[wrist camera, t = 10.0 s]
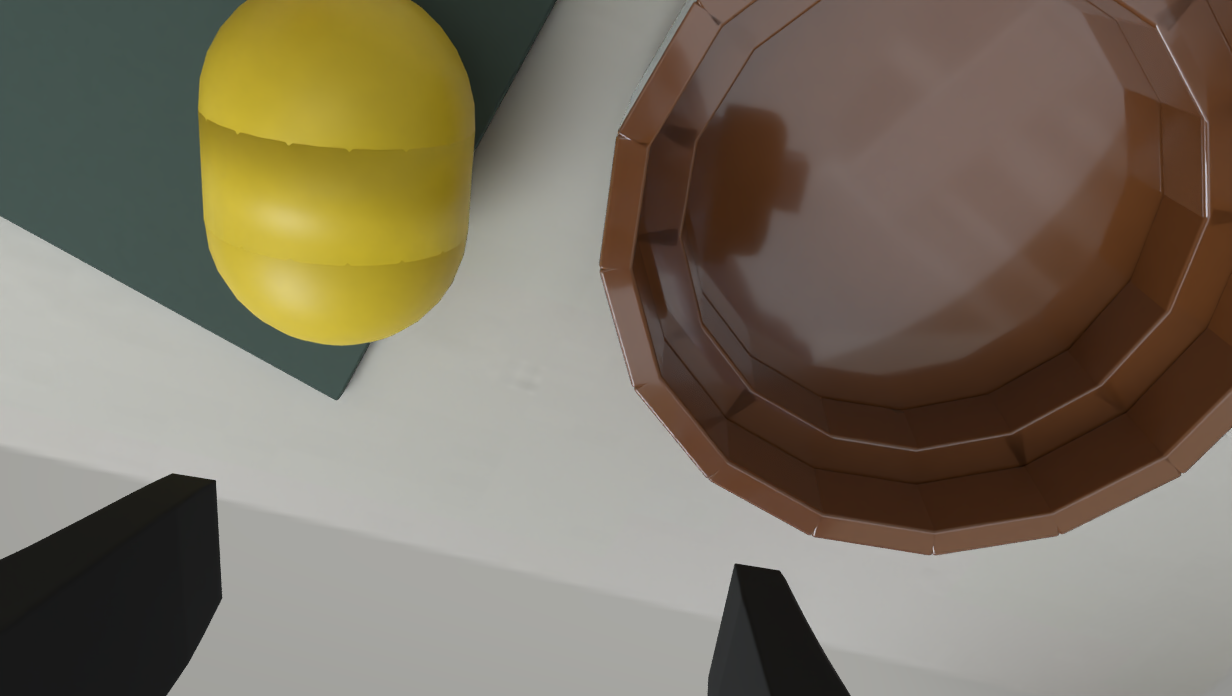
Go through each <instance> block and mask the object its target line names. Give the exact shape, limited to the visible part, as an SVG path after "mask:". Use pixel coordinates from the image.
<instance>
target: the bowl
mask: <svg viewBox="0 0 1232 696" xmlns="http://www.w3.org/2000/svg"><path fill="white" fill-rule="evenodd" d="M599 266H600V276H601V279H602V283H603V286H604V290H605V293H606V297H607V300H608V304H609V307H610V311H611V314H612V318H613V321H614V325H615V328H616V332H617V336H618V339H619V343H620V346H621V350H622V353H623V357H624V360H625V364H626V367H627V371H628V374H629V378H630V381H631V384H632V386H633V387H634V390H635V391H636V393H637V394H638V395H639V396H640V398H641V399H642V400H643V401H644V402H645V404H646V405H647V406H648V407H649V409H650V410H651V411H652V412H653V413H654V415H655V416H656V417H657V418H658V420H659V421H660V422H661V423H662V424H663V426H664V427H665V428H666V429H667V431H668V432H669V433H670V434H671V435H672V437H673V438H674V439H675V440H676V442H677V443H678V444H679V445H680V446H681V448H682V449H683V450H684V451H685V453H686V454H687V455H688V456H689V457H690V459H691V460H692V461H693V462H694V464H695V465H696V466H697V467H698V468H699V470H700V471H701V472H702V473H703V475H704V476H705V477H706V478H708V479H709V480H710V481H711V482H713V483H715V484H717V485H718V486H720V487H722V488H724V489H726V490H728V491H729V492H731V493H733V494H735V495H737V496H738V497H740V498H742V499H744V500H746V501H748V502H749V503H751V504H753V505H755V506H757V507H758V508H760V509H762V510H764V511H766V512H768V513H769V514H771V515H773V516H775V517H777V518H778V519H780V520H782V521H784V522H786V523H788V524H789V525H791V526H793V527H795V528H797V529H798V530H800V531H802V532H804V533H806V534H808V535H811V534H812V536H814V537H818V538H824V539H830V540H836V541H843V542H849V543H855V544H861V545H868V546H874V547H880V548H887V549H893V550H899V551H905V552H912V553H918V554H924V555H931V554H933V555H941V554H947V553H953V552H960V551H966V550H972V549H979V548H985V547H991V546H998V545H1004V544H1010V543H1017V542H1023V541H1029V540H1036V539H1042V538H1048V537H1054V536H1058V535H1059V533H1060V534H1065V533H1067V532H1069V531H1071V530H1073V529H1075V528H1077V527H1079V526H1081V525H1083V524H1085V523H1087V522H1089V521H1091V520H1093V519H1095V518H1097V517H1099V516H1101V515H1103V514H1105V513H1107V512H1109V511H1111V510H1113V509H1115V508H1117V507H1119V506H1121V505H1123V504H1125V503H1127V502H1129V501H1131V500H1133V499H1135V498H1137V497H1139V496H1141V495H1143V494H1145V493H1147V492H1149V491H1152V490H1154V489H1156V488H1158V487H1160V486H1162V485H1164V484H1166V483H1168V482H1170V481H1172V480H1174V479H1176V478H1178V477H1180V476H1181V473H1185V472H1187V471H1188V470H1189V469H1190V468H1191V467H1192V466H1193V465H1194V464H1195V463H1196V462H1197V461H1198V460H1199V459H1200V458H1201V457H1202V456H1203V455H1204V454H1205V453H1206V452H1207V451H1208V450H1209V449H1210V448H1211V447H1212V446H1213V445H1214V444H1215V443H1216V442H1217V441H1218V440H1219V439H1220V438H1222V437H1223V436H1224V435H1225V434H1226V433H1227V432H1228V431H1229V430H1230V429H1231V428H1232V0H687V1H686V3H685V5H684V7H683V8H682V10H681V12H680V13H679V15H678V17H677V19H676V20H675V22H674V24H673V25H672V27H671V29H670V31H669V32H668V34H667V36H666V38H665V39H664V41H663V43H662V44H661V46H660V48H659V50H658V51H657V53H656V55H655V57H654V58H653V60H652V62H651V63H650V65H649V67H648V69H647V70H646V72H645V74H644V76H643V77H642V79H641V81H640V82H639V84H638V86H637V88H636V89H635V91H634V93H633V95H632V96H631V99H630V102H629V104H628V107H627V109H626V112H625V114H624V117H623V119H622V122H621V124H620V127H619V130H618V134H617V136H616V142H615V150H614V157H613V164H612V172H611V179H610V187H609V194H608V202H607V209H606V217H605V224H604V231H603V239H602V246H601V254H600V261H599Z"/></svg>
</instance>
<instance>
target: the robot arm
mask: <svg viewBox="0 0 1232 696" xmlns="http://www.w3.org/2000/svg"><path fill="white" fill-rule="evenodd" d="M221 599H222V587H221V569H220V550H219V531H218V513H217V494H216V480H210V479H204V478H198V477H192V476H185V475H179V474H170V475H168V476H166V477H164V478H161V479H159V480H157V481H155V482H153V483H151V484H149V485H147V486H145V487H143V488H141V489H139V490H137V491H135V492H133V493H131V494H129V495H127V496H125V497H123V498H121V499H120V500H118V501H116V502H114V503H112V504H110V505H108V506H106V507H104V508H103V509H100V510H98V511H97V512H95V513H93V514H91V515H89V516H87V517H85V518H83V519H81V520H79V521H77V522H75V523H73V524H71V525H69V526H68V527H66V528H64V529H62V530H60V531H58V532H56V533H54V534H52V535H50V536H48V537H46V538H44V539H42V540H40V541H38V542H37V543H34V544H33V545H30V546H28V547H26V548H24V549H22V550H20V551H18V552H16V553H14V554H12V555H9V556H7V557H5V558H3V559H1V560H0V696H166V695H167V694H168V692H169V691H170V689H171V688H172V687H173V685H174V684H175V682H176V681H177V679H178V678H179V676H180V675H181V673H182V672H183V670H184V669H185V667H186V666H187V665H188V663H189V661H190V659H191V657H192V656H193V654H194V652H195V650H196V648H197V646H198V645H199V643H200V641H201V639H202V637H203V635H204V633H205V631H206V629H207V627H208V625H209V623H210V621H211V619H212V617H213V615H214V613H215V611H216V609H217V607H218V605H219V603H220V601H221ZM708 696H850V694H849V692H848V691H847V689H846V687H845V686H844V684H843V682H842V681H841V679H840V678H839V676H838V674H837V673H836V671H835V669H834V668H833V666H832V665H831V663H830V661H829V660H828V658H827V656H826V654H825V653H824V651H823V649H822V647H821V646H820V644H819V642H818V640H817V639H816V637H815V635H814V633H813V631H812V629H811V628H810V626H809V624H808V622H807V620H806V618H805V617H804V615H803V613H802V611H801V609H800V607H799V605H798V603H797V601H796V599H795V597H794V595H793V593H792V591H791V589H790V587H789V585H788V583H787V581H786V579H785V578H784V576H783V575H782V574H781V572H780V571H779V570H773V569H766V568H760V567H754V566H748V565H741V564H735V565H734V569H733V574H732V578H731V582H730V587H729V591H728V595H727V599H726V604H725V608H724V612H723V617H722V621H721V625H720V630H719V634H718V638H717V643H716V647H715V651H714V655H713V660H712V664H711V668H710V673H709V677H708Z"/></svg>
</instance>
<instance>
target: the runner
mask: <svg viewBox="0 0 1232 696" xmlns="http://www.w3.org/2000/svg"><path fill="white" fill-rule="evenodd" d="M246 1H247V0H0V216H1V217H3V218H5V219H7V220H9V221H10V222H12V223H14V224H16V225H18V226H20V227H21V228H23V229H25V230H27V231H29V232H30V233H32V234H34V235H36V236H38V237H40V238H41V239H43V240H45V241H47V242H49V243H50V244H52V245H54V246H56V247H58V248H60V249H61V250H63V251H65V252H67V253H69V254H71V255H72V256H74V257H76V258H78V259H80V260H81V261H83V262H85V263H87V264H89V265H91V266H92V267H94V268H96V269H98V270H100V271H101V272H103V273H105V274H107V275H109V276H111V277H112V278H114V279H116V280H118V281H120V282H121V283H123V284H125V285H127V286H129V287H131V288H132V289H134V290H136V291H138V292H140V293H142V294H143V295H145V296H147V297H149V298H151V299H152V300H154V301H156V302H158V303H160V304H162V305H163V306H165V307H167V308H169V309H171V310H172V311H174V312H176V313H178V314H180V315H182V316H183V317H185V318H187V319H189V320H191V321H192V322H194V323H196V324H198V325H200V326H202V327H203V328H205V329H207V330H209V331H211V332H213V333H214V334H216V335H218V336H220V337H222V338H223V339H225V340H227V341H229V342H231V343H233V344H234V345H236V346H238V347H240V348H242V349H243V350H245V351H247V352H249V353H251V354H253V355H254V356H256V357H258V358H260V359H262V360H264V361H265V362H267V363H269V364H271V365H273V366H274V367H276V368H278V369H280V370H282V371H284V372H285V373H287V374H289V375H291V376H293V377H294V378H296V379H298V380H300V381H302V382H304V383H305V384H307V385H309V386H311V387H313V388H314V389H316V390H318V391H320V392H322V393H324V394H325V395H327V396H329V397H331V398H333V399H335V400H338V399H339V398H340V396H341V395H342V394H343V392H344V390H345V388H346V387H347V385H348V383H349V381H350V379H351V377H352V376H353V374H354V372H355V370H356V368H357V366H358V364H359V363H360V361H361V359H362V357H363V355H364V353H365V352H366V350H367V348H368V346H369V344H370V342H368V343H362V344H356V345H343V346H340V345H326V344H320V343H315V342H310V341H305V340H301V339H298V338H295V337H291V336H289V335H287V334H285V333H283V332H281V331H279V330H277V329H275V328H274V327H272V326H270V325H268V324H266V323H265V322H263V321H262V320H260V319H259V318H258V317H256V316H255V315H254V314H253V313H252V312H250V311H249V310H248V309H247V308H246V307H245V306H244V305H243V304H242V303H241V302H240V301H239V300H238V299H237V298H236V297H235V295H234V294H233V292H232V291H231V289H230V288H229V287H228V285H227V284H226V282H225V281H224V279H223V278H222V276H221V275H220V273H219V272H218V270H217V267H216V265H215V262H214V260H213V258H212V255H211V253H210V250H209V246H208V240H207V234H206V228H205V222H204V215H203V196H202V177H201V158H200V139H199V120H198V100H199V82H200V75H201V72H202V68H203V64H204V61H205V57H206V54H207V51H208V49H209V47H210V45H211V44H212V42H213V40H214V38H215V36H216V34H217V32H218V31H219V29H220V27H221V26H222V25H223V24H224V23H225V22H226V20H227V19H228V18H229V17H230V16H231V15H232V14H233V12H234V11H235V10H236V9H237V8H238V7H239V6H240V5H241V4H243V3H244V2H246ZM411 1H413V2H414V3H416V4H417V5H419V6H420V7H422V8H423V9H424V10H425V11H426V12H427V13H428V14H429V15H430V16H431V17H432V18H433V19H434V20H435V21H436V22H437V23H438V24H439V25H440V26H441V27H442V29H443V30H444V32H445V33H446V35H447V36H448V38H449V39H450V41H451V42H452V44H453V45H454V46H455V48H456V49H457V52H458V54H459V56H460V58H461V61H462V63H463V65H464V68H465V70H466V72H467V75H468V78H469V82H470V86H471V91H472V95H473V100H474V105H475V139H474V151H475V149H476V148H477V146H478V144H479V142H480V140H481V138H482V137H483V135H484V133H485V131H486V129H487V127H488V126H489V124H490V122H491V120H492V118H493V116H494V115H495V113H496V111H497V109H498V107H499V105H500V104H501V102H502V100H503V98H504V96H505V94H506V93H507V91H508V89H509V87H510V85H511V83H512V81H513V80H514V78H515V76H516V74H517V72H518V70H519V69H520V67H521V65H522V63H523V61H524V59H525V58H526V56H527V54H528V52H529V50H530V48H531V47H532V45H533V43H534V41H535V39H536V37H537V36H538V34H539V32H540V30H541V28H542V26H543V25H544V23H545V21H546V19H547V17H548V15H549V14H550V12H551V10H552V8H553V6H554V4H555V2H556V1H557V0H411Z"/></svg>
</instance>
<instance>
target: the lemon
mask: <svg viewBox="0 0 1232 696" xmlns="http://www.w3.org/2000/svg"><path fill="white" fill-rule="evenodd" d="M198 120H199V139H200V158H201V177H202V196H203V215H204V222H205V228H206V234H207V240H208V246H209V250H210V253H211V255H212V258H213V260H214V262H215V265H216V267H217V270H218V272H219V273H220V275H221V276H222V278H223V279H224V281H225V282H226V284H227V285H228V287H229V288H230V289H231V291H232V292H233V294H234V295H235V297H236V298H237V299H238V300H239V301H240V302H241V303H242V304H243V305H244V306H245V307H246V308H247V309H248V310H249V311H250V312H252V313H253V314H254V315H255V316H256V317H258V318H259V319H260V320H262V321H263V322H265V323H266V324H268V325H270V326H272V327H274V328H275V329H277V330H279V331H281V332H283V333H285V334H287V335H289V336H291V337H295V338H298V339H301V340H305V341H310V342H315V343H320V344H326V345H340V346H343V345H356V344H362V343H368V342H373V341H377V340H381V339H384V338H387V337H390V336H392V335H394V334H396V333H398V332H400V331H402V330H403V329H405V328H407V327H409V326H411V325H412V324H414V323H416V322H418V321H419V320H420V319H421V318H422V317H423V316H424V315H425V314H426V313H427V312H429V311H430V310H431V309H432V308H433V307H434V306H435V305H436V304H437V303H438V302H439V301H440V300H441V298H442V297H443V295H444V294H445V293H446V291H447V290H448V288H449V287H450V285H451V284H452V282H453V280H454V277H455V275H456V273H457V270H458V268H459V265H460V263H461V260H462V258H463V255H464V251H465V246H466V240H467V234H468V224H469V210H470V196H471V182H472V168H473V154H474V139H475V105H474V100H473V95H472V91H471V86H470V82H469V78H468V75H467V72H466V70H465V68H464V65H463V63H462V61H461V58H460V56H459V54H458V52H457V49H456V48H455V46H454V45H453V44H452V42H451V41H450V39H449V38H448V36H447V35H446V33H445V32H444V30H443V29H442V27H441V26H440V25H439V24H438V23H437V22H436V21H435V20H434V19H433V18H432V17H431V16H430V15H429V14H428V13H427V12H426V11H425V10H424V9H423V8H422V7H420V6H419V5H417V4H416V3H414V2H413V1H411V0H247V1H246V2H244V3H243V4H241V5H240V6H239V7H238V8H237V9H236V10H235V11H234V12H233V14H232V15H231V16H230V17H229V18H228V19H227V20H226V22H225V23H224V24H223V25H222V26H221V27H220V29H219V31H218V32H217V34H216V36H215V38H214V40H213V42H212V44H211V45H210V47H209V49H208V51H207V54H206V57H205V61H204V64H203V68H202V72H201V75H200V82H199V100H198Z"/></svg>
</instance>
